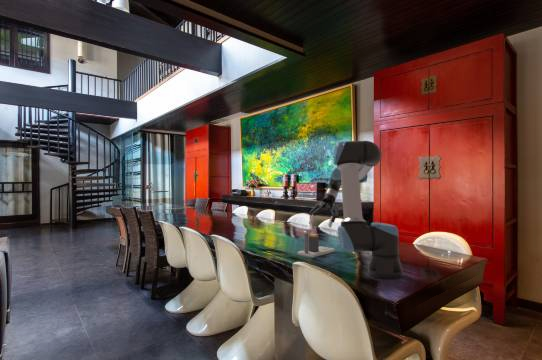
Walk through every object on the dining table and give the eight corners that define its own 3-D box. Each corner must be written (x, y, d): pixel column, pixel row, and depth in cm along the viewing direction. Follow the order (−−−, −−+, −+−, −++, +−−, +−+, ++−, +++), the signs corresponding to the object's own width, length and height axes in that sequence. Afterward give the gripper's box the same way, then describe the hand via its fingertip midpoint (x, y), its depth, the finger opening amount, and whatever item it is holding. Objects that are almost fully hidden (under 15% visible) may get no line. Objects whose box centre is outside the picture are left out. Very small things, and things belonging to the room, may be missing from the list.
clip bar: (310, 234, 168) (309, 231, 168) (305, 234, 167) (304, 231, 167) (296, 229, 184) (296, 227, 184) (292, 230, 183) (292, 227, 183)
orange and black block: (314, 254, 171) (313, 235, 171) (308, 253, 174) (308, 234, 174) (318, 253, 173) (318, 234, 173) (313, 252, 176) (313, 233, 176)
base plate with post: (312, 259, 164) (311, 235, 164) (297, 255, 172) (297, 233, 172) (335, 253, 178) (334, 230, 178) (320, 250, 186) (320, 229, 186)
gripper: (350, 201, 184) (340, 230, 174) (315, 200, 200) (304, 226, 190) (346, 194, 180) (335, 223, 169) (311, 193, 196) (299, 220, 185)
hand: (319, 225), depth 180 cm, fingers open, 13 cm apart
